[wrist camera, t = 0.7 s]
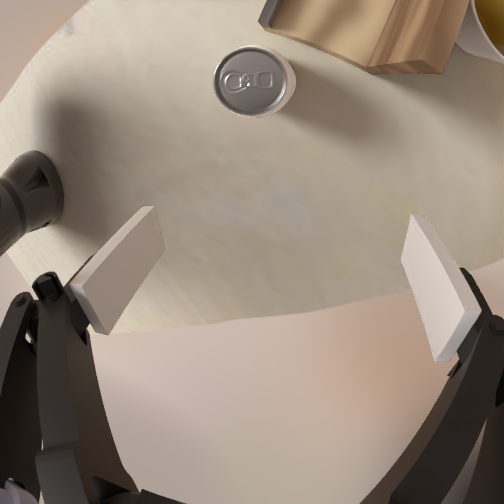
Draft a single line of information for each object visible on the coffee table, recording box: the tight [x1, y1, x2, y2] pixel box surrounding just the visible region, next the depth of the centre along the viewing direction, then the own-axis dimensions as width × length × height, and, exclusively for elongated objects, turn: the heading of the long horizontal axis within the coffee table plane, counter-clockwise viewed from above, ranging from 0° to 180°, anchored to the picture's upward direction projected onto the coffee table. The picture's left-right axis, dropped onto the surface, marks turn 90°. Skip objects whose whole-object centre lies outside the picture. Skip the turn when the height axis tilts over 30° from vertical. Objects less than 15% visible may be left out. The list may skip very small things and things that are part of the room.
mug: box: [455, 0, 504, 64], centre depth 13 cm, size 14×10×10 cm
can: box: [213, 45, 296, 118], centre depth 23 cm, size 6×6×12 cm
